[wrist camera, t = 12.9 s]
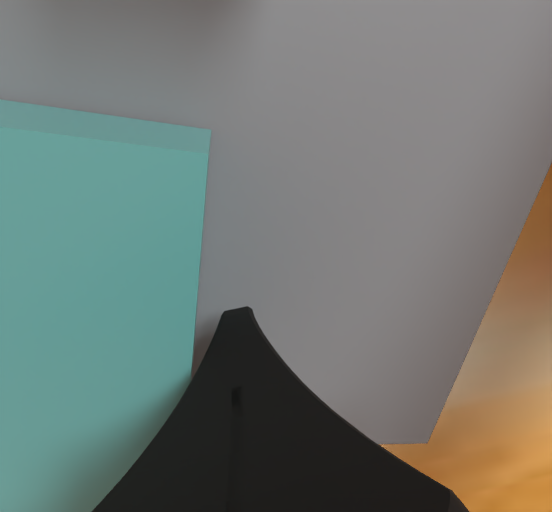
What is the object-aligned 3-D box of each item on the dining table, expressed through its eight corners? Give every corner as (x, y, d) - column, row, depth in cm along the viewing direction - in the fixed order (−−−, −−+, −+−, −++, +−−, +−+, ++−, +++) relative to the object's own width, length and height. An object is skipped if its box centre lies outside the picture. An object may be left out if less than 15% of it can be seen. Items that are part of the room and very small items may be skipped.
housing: (211, 129, 9) (208, 154, 6) (187, 432, 13) (177, 542, 10) (-140, 79, 7) (-387, 76, 4) (-46, 434, 11) (-142, 562, 8)
